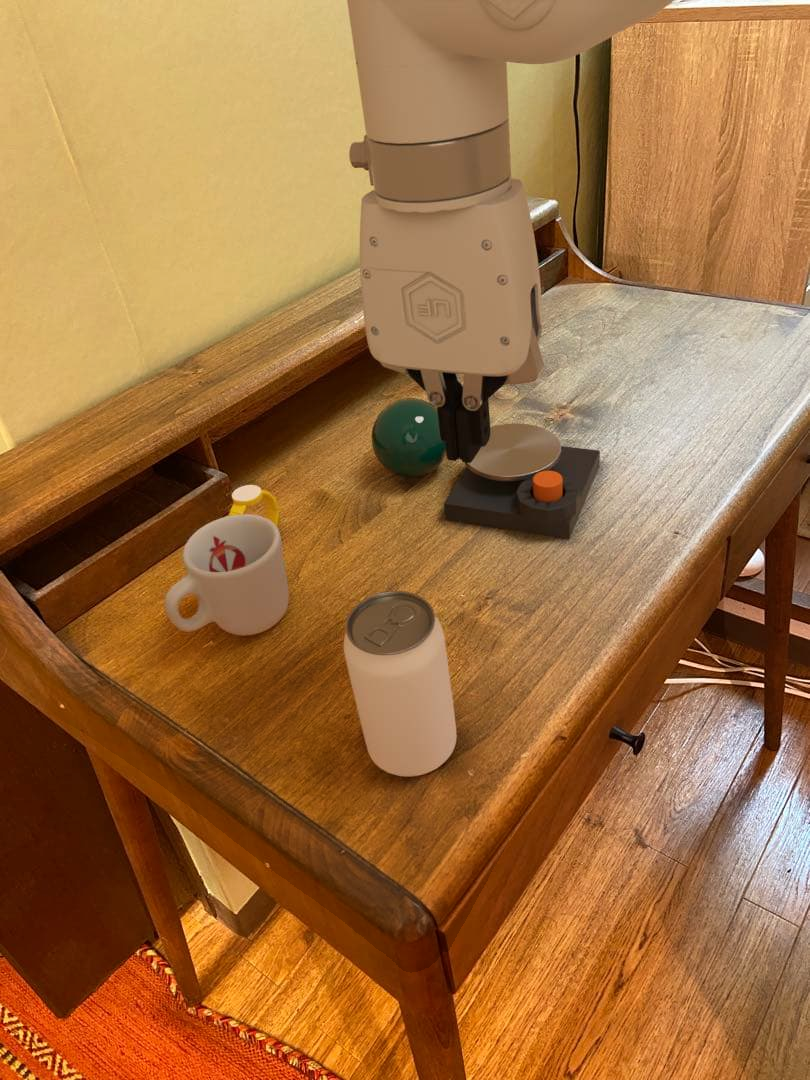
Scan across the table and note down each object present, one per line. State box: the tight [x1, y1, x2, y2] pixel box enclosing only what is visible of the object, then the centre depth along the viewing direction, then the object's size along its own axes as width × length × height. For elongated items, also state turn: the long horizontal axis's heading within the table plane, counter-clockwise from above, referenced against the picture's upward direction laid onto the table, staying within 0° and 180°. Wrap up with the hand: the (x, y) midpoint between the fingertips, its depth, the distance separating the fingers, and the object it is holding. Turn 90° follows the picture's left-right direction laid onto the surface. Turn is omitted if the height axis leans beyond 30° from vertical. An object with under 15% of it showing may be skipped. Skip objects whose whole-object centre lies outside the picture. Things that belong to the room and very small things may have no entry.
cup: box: [164, 513, 290, 636], centre depth 68 cm, size 11×8×8 cm
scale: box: [443, 445, 601, 540], centre depth 79 cm, size 12×13×4 cm
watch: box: [228, 484, 280, 527], centre depth 77 cm, size 6×3×6 cm, turn 151°
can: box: [343, 590, 458, 777], centre depth 55 cm, size 6×6×12 cm
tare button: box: [533, 471, 563, 502], centre depth 74 cm, size 3×3×2 cm
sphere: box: [371, 397, 447, 479], centre depth 83 cm, size 8×8×8 cm
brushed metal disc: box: [464, 422, 562, 481], centre depth 79 cm, size 9×9×1 cm
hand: (466, 450), depth 56 cm, fingers closed
